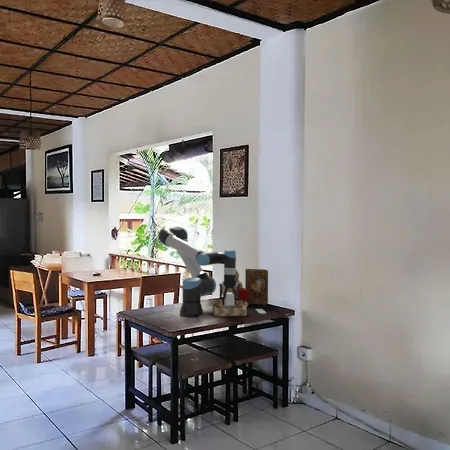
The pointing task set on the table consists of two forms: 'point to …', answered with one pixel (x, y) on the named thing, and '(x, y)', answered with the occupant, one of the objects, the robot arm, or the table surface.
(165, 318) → the table surface
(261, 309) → the mat
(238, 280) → the vase
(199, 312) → the robot arm
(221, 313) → the carton
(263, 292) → the book
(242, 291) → the apple
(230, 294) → the block
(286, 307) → the table surface
